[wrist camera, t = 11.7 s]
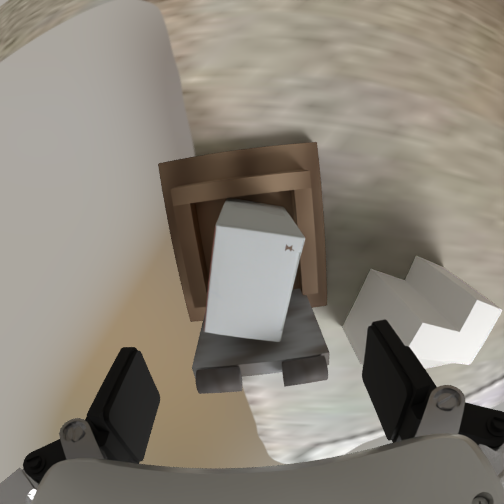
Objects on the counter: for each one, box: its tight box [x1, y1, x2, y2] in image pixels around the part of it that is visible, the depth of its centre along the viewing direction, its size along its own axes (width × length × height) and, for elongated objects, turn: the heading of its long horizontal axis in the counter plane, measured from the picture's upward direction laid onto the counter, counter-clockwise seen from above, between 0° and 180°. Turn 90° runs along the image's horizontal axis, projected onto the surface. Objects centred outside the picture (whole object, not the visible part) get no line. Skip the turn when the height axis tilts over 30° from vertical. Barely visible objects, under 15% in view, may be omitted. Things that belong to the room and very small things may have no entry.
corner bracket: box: [342, 256, 502, 369], centre depth 27 cm, size 11×11×12 cm
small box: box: [204, 198, 305, 342], centre depth 23 cm, size 8×6×10 cm
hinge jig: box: [158, 142, 329, 394], centre depth 23 cm, size 15×17×14 cm
